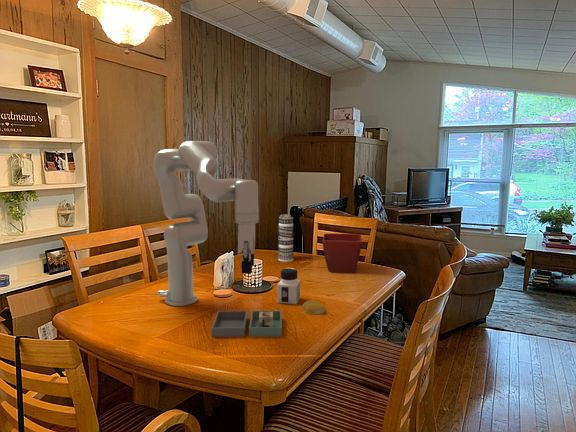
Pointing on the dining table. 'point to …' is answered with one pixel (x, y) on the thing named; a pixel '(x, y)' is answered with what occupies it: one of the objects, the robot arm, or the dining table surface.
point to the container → (289, 287)
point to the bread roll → (313, 307)
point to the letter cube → (266, 319)
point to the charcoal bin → (230, 324)
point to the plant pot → (342, 251)
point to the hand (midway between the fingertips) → (248, 269)
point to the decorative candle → (285, 238)
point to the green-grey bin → (265, 331)
